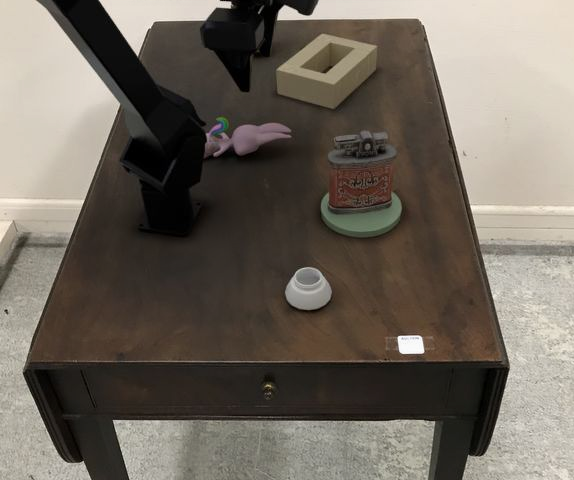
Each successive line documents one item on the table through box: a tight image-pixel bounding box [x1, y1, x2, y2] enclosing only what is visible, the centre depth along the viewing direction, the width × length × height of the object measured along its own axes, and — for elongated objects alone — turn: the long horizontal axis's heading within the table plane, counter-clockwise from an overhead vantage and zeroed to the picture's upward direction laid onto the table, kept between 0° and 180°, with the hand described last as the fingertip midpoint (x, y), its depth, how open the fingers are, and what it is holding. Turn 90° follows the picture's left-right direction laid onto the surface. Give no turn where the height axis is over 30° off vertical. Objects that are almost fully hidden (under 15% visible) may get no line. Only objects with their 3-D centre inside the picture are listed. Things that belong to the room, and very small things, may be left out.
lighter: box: [327, 129, 397, 215], centre depth 83 cm, size 8×3×10 cm, turn 98°
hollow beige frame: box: [275, 33, 378, 110], centre depth 109 cm, size 14×11×4 cm
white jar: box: [284, 266, 333, 311], centre depth 76 cm, size 5×3×5 cm
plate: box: [320, 191, 403, 238], centre depth 87 cm, size 10×10×1 cm
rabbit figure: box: [204, 116, 292, 159], centre depth 95 cm, size 6×6×15 cm
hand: (256, 73), depth 86 cm, fingers open, 9 cm apart
